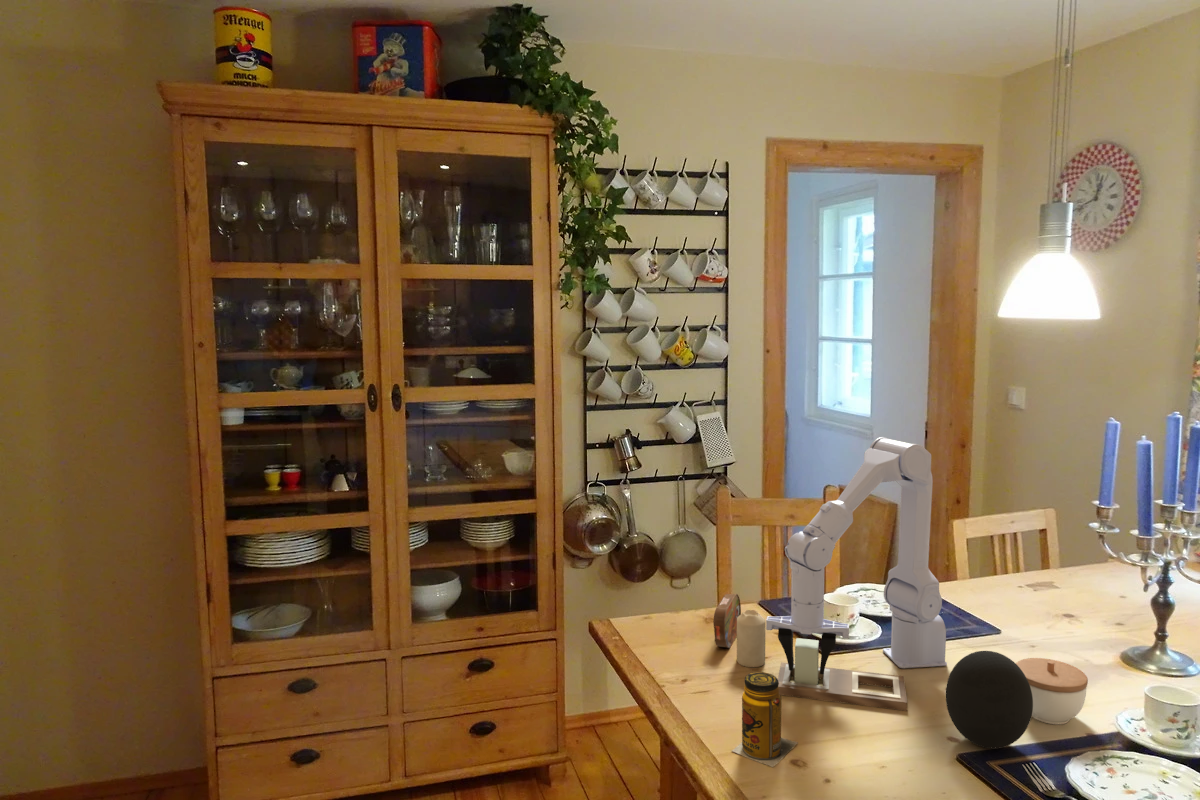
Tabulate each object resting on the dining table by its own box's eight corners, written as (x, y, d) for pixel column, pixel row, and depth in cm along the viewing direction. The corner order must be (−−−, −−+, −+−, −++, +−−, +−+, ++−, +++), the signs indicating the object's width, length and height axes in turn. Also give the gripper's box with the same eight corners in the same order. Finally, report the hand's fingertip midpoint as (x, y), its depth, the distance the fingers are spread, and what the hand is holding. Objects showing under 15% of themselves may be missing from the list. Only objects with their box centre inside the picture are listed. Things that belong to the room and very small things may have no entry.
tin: (726, 655, 161) (726, 614, 160) (711, 652, 162) (711, 612, 161) (742, 626, 175) (742, 588, 174) (728, 624, 176) (728, 587, 175)
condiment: (731, 752, 127) (731, 679, 126) (757, 729, 133) (758, 660, 132) (772, 768, 122) (773, 694, 121) (798, 744, 129) (799, 673, 127)
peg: (818, 681, 149) (818, 640, 148) (817, 691, 146) (817, 649, 145) (796, 678, 151) (796, 638, 150) (794, 688, 147) (794, 647, 146)
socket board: (903, 683, 148) (903, 675, 147) (906, 710, 138) (907, 701, 138) (781, 669, 154) (781, 661, 154) (776, 694, 145) (776, 685, 145)
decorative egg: (949, 716, 136) (952, 631, 134) (1032, 735, 130) (1036, 646, 128) (938, 752, 126) (942, 661, 124) (1028, 774, 119) (1033, 678, 117)
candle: (765, 668, 155) (765, 619, 154) (736, 666, 156) (736, 617, 155) (765, 656, 160) (765, 608, 159) (737, 654, 161) (737, 606, 160)
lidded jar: (1084, 738, 129) (1087, 683, 127) (1009, 721, 134) (1011, 667, 133) (1086, 709, 138) (1089, 656, 136) (1015, 694, 143) (1018, 643, 142)
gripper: (764, 603, 144) (764, 674, 146) (849, 610, 140) (847, 684, 142) (768, 589, 151) (768, 658, 153) (849, 596, 147) (848, 667, 148)
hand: (806, 670), depth 148 cm, fingers open, 5 cm apart
